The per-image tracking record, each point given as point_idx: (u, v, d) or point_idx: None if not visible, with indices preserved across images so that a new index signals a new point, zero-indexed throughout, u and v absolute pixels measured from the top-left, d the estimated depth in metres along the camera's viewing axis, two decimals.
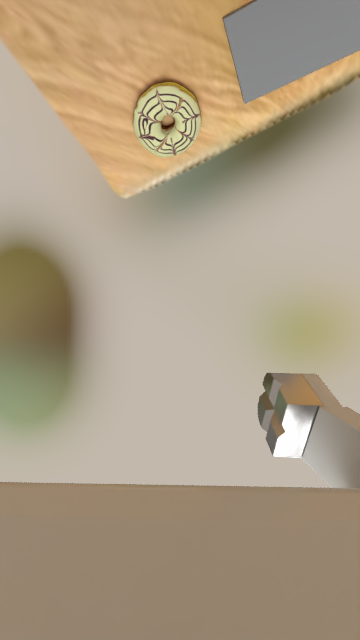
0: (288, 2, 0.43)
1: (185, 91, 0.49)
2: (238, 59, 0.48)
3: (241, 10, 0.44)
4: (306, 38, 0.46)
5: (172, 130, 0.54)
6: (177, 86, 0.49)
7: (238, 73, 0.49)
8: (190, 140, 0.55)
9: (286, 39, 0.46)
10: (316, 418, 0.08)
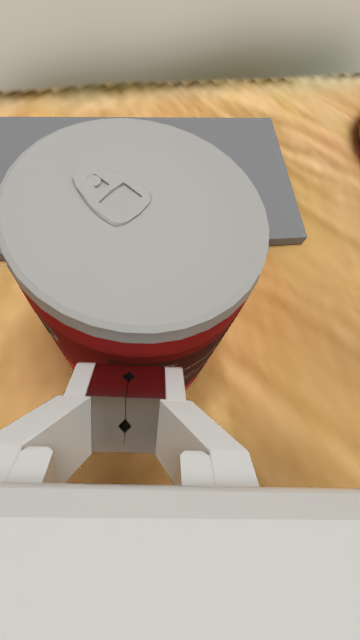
0: None
1: None
2: (280, 178, 0.24)
3: (272, 237, 0.22)
4: None
5: None
6: None
7: (281, 160, 0.25)
8: None
9: None
10: (158, 412, 0.08)
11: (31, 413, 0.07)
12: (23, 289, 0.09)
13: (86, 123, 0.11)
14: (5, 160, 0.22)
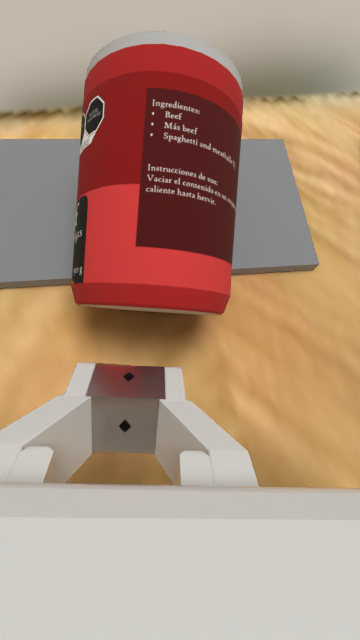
0: None
1: None
2: (292, 202, 0.24)
3: (284, 264, 0.22)
4: None
5: None
6: None
7: (293, 183, 0.25)
8: None
9: None
10: (158, 412, 0.08)
11: (32, 413, 0.07)
12: (99, 59, 0.14)
13: None
14: (16, 184, 0.22)
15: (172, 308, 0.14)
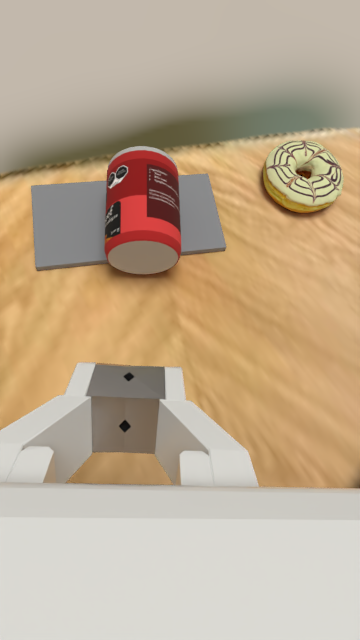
0: None
1: (279, 193, 0.42)
2: (212, 212, 0.42)
3: (206, 248, 0.40)
4: None
5: (299, 164, 0.44)
6: (287, 200, 0.42)
7: (213, 201, 0.42)
8: (282, 147, 0.44)
9: None
10: (158, 412, 0.08)
11: (32, 413, 0.07)
12: (123, 153, 0.35)
13: None
14: (54, 211, 0.40)
15: (162, 243, 0.32)
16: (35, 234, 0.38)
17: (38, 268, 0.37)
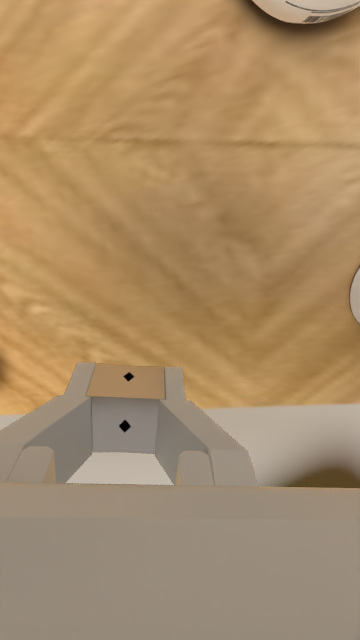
0: None
1: None
2: None
3: None
4: None
5: None
6: None
7: None
8: None
9: None
10: (158, 412, 0.08)
11: (31, 413, 0.07)
12: None
13: None
14: None
15: None
16: None
17: None
